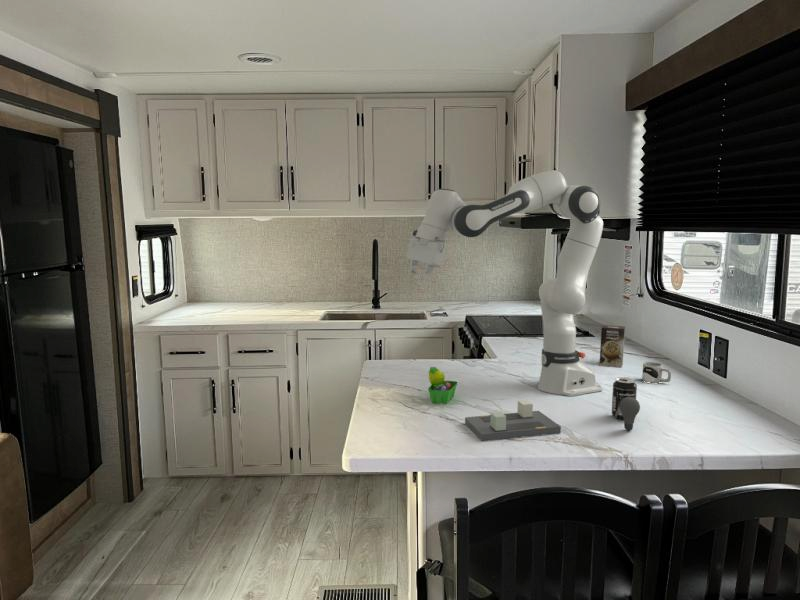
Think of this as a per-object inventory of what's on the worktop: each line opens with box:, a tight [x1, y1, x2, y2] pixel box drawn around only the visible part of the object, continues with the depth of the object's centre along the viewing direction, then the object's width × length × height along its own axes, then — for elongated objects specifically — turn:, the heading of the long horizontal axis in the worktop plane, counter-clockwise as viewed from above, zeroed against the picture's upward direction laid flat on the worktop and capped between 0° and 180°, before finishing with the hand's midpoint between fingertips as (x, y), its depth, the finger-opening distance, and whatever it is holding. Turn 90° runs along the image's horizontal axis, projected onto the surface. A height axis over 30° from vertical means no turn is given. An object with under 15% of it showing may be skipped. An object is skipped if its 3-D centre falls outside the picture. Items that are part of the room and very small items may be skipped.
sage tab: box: [490, 411, 506, 431], centre depth 169 cm, size 3×4×4 cm
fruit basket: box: [427, 366, 458, 405], centre depth 201 cm, size 11×9×11 cm
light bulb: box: [619, 397, 641, 432], centre depth 171 cm, size 6×6×10 cm
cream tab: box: [516, 399, 534, 418], centre depth 179 cm, size 3×4×4 cm
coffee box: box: [598, 324, 626, 368], centre depth 243 cm, size 9×6×16 cm
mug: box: [642, 361, 672, 383], centre depth 219 cm, size 10×7×7 cm
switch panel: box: [464, 410, 562, 442], centre depth 174 cm, size 24×14×2 cm, turn 103°
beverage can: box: [611, 376, 638, 421], centre depth 182 cm, size 7×7×12 cm
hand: (417, 276), depth 195 cm, fingers open, 8 cm apart
